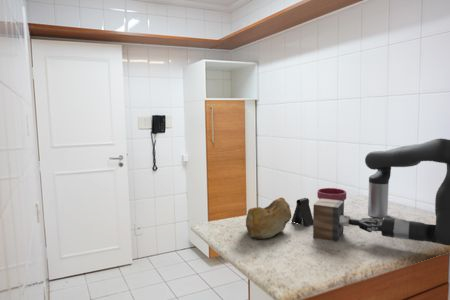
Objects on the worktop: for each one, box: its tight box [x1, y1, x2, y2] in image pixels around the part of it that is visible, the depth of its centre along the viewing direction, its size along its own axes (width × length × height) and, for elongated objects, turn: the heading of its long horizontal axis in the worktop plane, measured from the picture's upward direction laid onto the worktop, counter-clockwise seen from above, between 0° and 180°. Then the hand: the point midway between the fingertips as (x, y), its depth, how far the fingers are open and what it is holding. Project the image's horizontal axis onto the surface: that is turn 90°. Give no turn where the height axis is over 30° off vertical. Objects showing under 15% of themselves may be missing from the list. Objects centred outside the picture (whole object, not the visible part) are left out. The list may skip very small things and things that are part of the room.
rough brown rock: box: [245, 197, 293, 240], centre depth 149 cm, size 23×17×15 cm
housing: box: [312, 198, 345, 243], centre depth 143 cm, size 12×10×14 cm
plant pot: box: [316, 187, 347, 202], centre depth 173 cm, size 14×14×13 cm
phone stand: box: [291, 197, 313, 227], centre depth 160 cm, size 9×6×12 cm, turn 39°
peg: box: [339, 214, 351, 228], centre depth 141 cm, size 4×10×4 cm, turn 59°
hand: (349, 221), depth 139 cm, fingers closed
